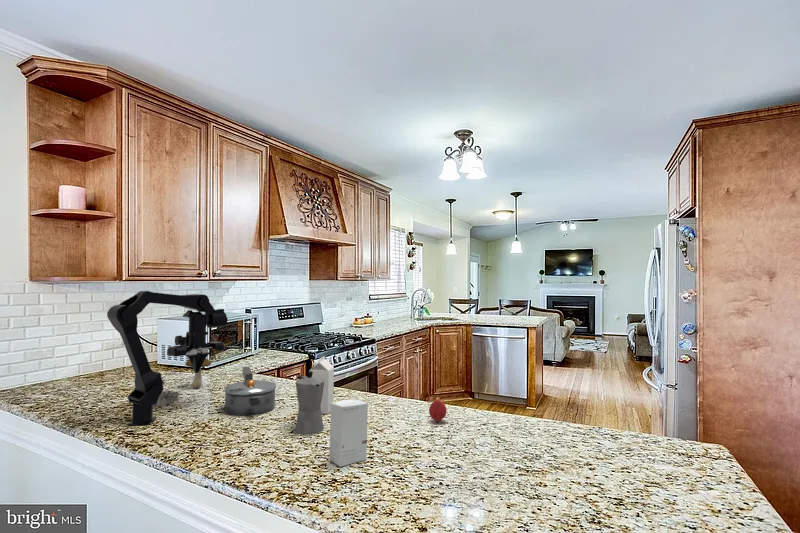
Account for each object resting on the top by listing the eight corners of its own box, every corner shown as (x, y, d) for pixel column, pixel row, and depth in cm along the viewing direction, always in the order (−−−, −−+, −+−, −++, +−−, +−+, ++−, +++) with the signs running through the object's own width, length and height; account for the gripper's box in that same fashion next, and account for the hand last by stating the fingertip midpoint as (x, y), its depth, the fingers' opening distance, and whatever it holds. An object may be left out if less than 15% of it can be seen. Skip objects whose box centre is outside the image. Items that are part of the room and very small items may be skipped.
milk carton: (333, 408, 158) (334, 356, 159) (328, 414, 151) (329, 359, 152) (314, 407, 159) (315, 355, 159) (308, 413, 152) (309, 358, 152)
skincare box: (339, 468, 108) (340, 407, 108) (328, 459, 113) (329, 401, 113) (368, 459, 113) (368, 402, 114) (356, 452, 118) (356, 397, 118)
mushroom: (197, 392, 179) (198, 355, 180) (179, 388, 185) (180, 353, 185) (215, 387, 187) (216, 352, 188) (198, 384, 193) (198, 350, 193)
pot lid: (279, 392, 153) (279, 380, 153) (225, 397, 146) (225, 385, 146) (268, 375, 180) (268, 365, 180) (222, 378, 173) (222, 368, 173)
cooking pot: (280, 415, 149) (280, 395, 150) (227, 422, 142) (227, 400, 142) (269, 397, 172) (269, 379, 172) (222, 402, 165) (223, 383, 165)
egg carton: (161, 407, 159) (161, 396, 159) (144, 406, 160) (144, 394, 160) (182, 399, 169) (182, 389, 169) (166, 398, 171) (166, 387, 171)
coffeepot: (332, 433, 133) (333, 373, 133) (302, 439, 127) (303, 377, 128) (312, 419, 146) (313, 365, 146) (285, 424, 140) (286, 368, 141)
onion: (445, 425, 140) (445, 400, 141) (427, 424, 142) (428, 399, 142) (447, 420, 146) (447, 395, 146) (430, 418, 147) (430, 394, 148)
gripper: (208, 325, 169) (207, 366, 168) (159, 329, 154) (158, 374, 153) (225, 327, 163) (224, 369, 162) (176, 332, 147) (175, 378, 147)
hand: (196, 372), depth 156 cm, fingers closed
